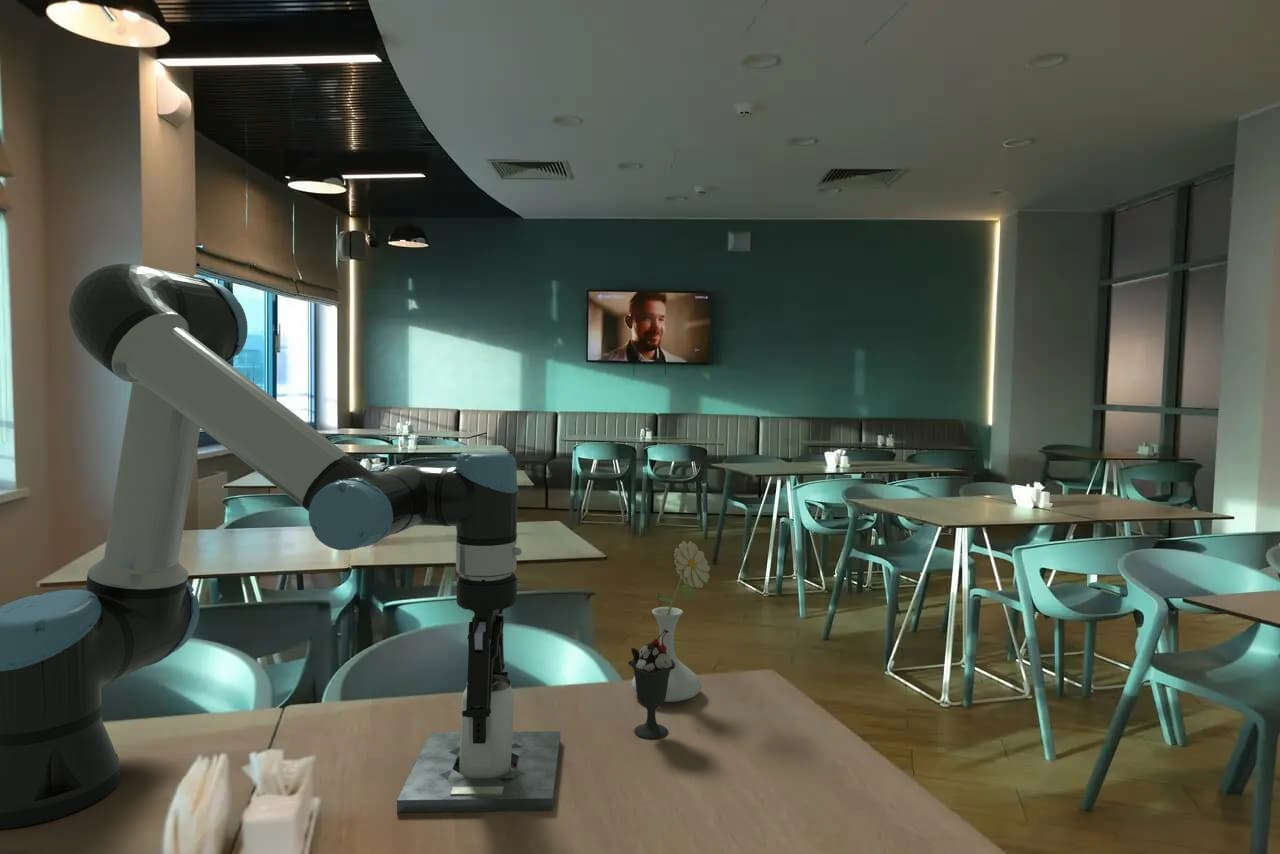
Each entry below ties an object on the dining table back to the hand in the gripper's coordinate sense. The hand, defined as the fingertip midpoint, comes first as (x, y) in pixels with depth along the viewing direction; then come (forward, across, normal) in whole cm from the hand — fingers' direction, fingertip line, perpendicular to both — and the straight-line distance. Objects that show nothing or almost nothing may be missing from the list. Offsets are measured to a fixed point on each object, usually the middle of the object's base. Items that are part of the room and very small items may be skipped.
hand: (486, 747), depth 101 cm
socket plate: (+4, 0, 0) cm, 4 cm away
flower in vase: (+4, +26, -26) cm, 37 cm away
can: (+4, 0, 0) cm, 4 cm away
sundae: (+4, +12, -22) cm, 25 cm away
